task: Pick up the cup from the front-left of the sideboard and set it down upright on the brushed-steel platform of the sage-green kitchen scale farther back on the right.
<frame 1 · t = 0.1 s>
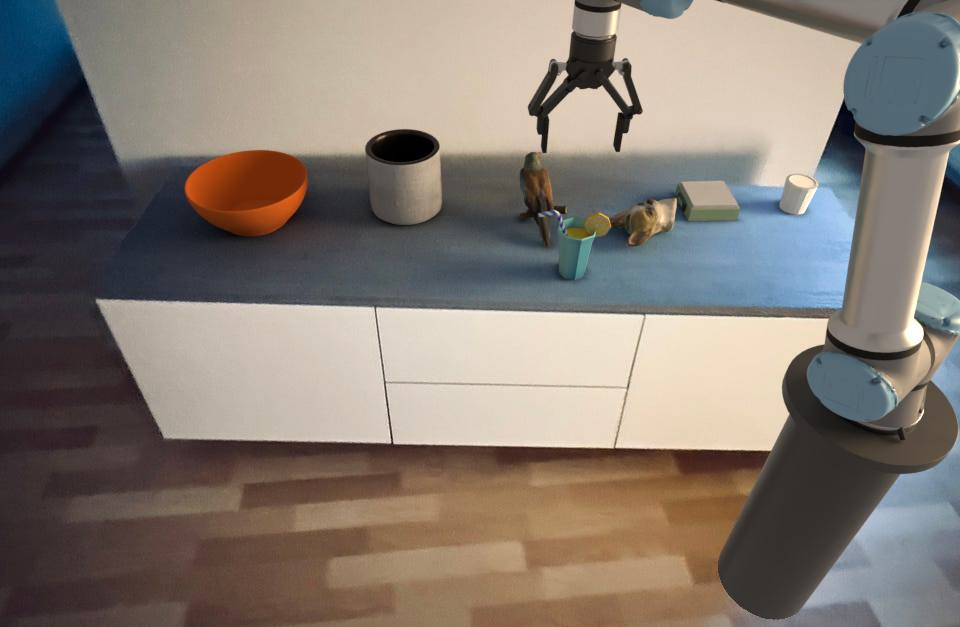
hand: (580, 149, 125), 24 cm above the table, tool pointing down, fingers open, 13 cm apart
bird figurine: (541, 221, 149), on the table
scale: (705, 207, 154), on the table
ceramic sculpture: (641, 234, 146), on the table
bowl: (256, 219, 149), on the table
shot glass: (792, 208, 154), on the table
planter: (407, 208, 153), on the table
cup: (567, 272, 136), on the table
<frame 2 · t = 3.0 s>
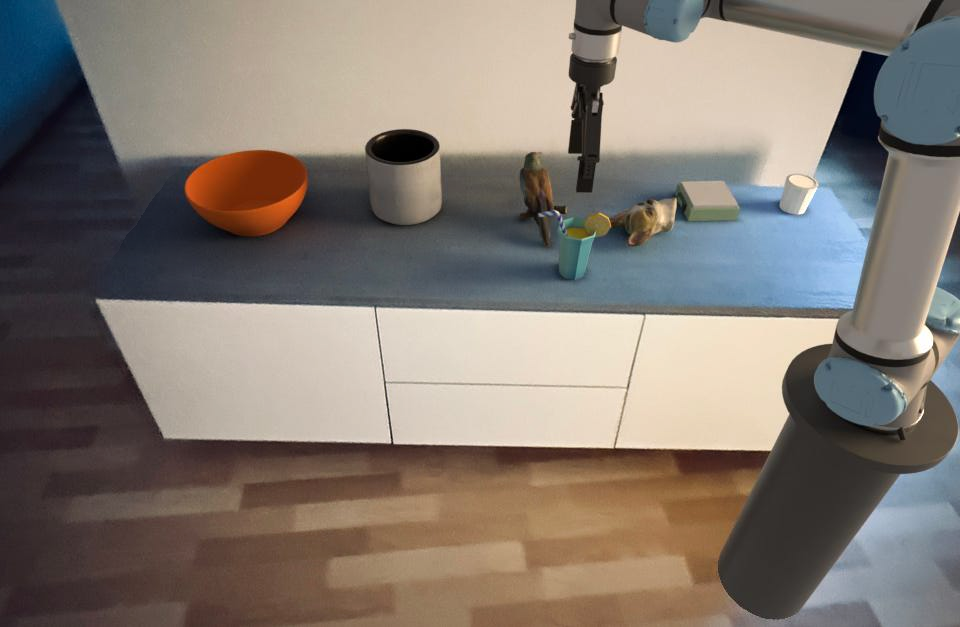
hand: (579, 171, 122), 22 cm above the table, tool pointing down, fingers open, 13 cm apart
nothing on the table moved.
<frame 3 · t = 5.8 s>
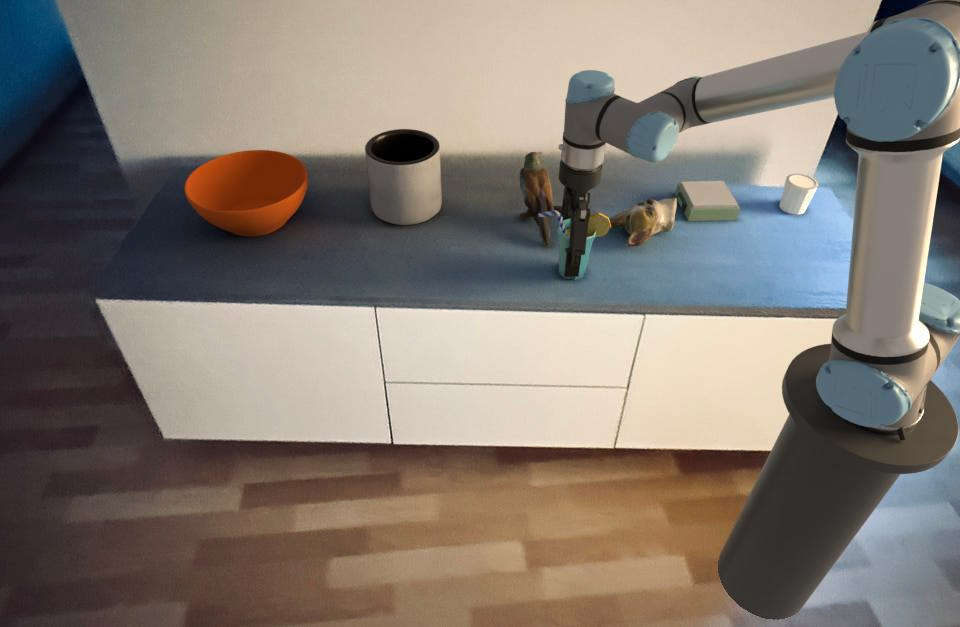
hand: (568, 264, 134), 2 cm above the table, tool pointing down, fingers closed on cup, 6 cm apart
cup: (567, 272, 136), on the table, touching gripper
everything else where it was.
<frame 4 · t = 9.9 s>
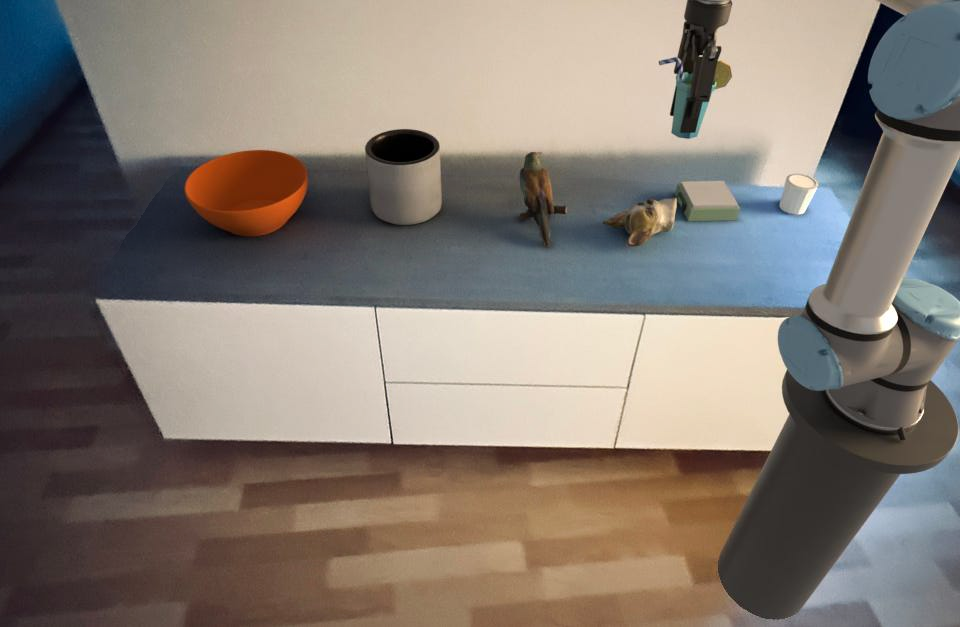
hand: (682, 123, 131), 25 cm above the table, tool pointing down, fingers closed on cup, 6 cm apart
cup: (679, 133, 132), point 23 cm above the table, touching gripper
everything else where it was.
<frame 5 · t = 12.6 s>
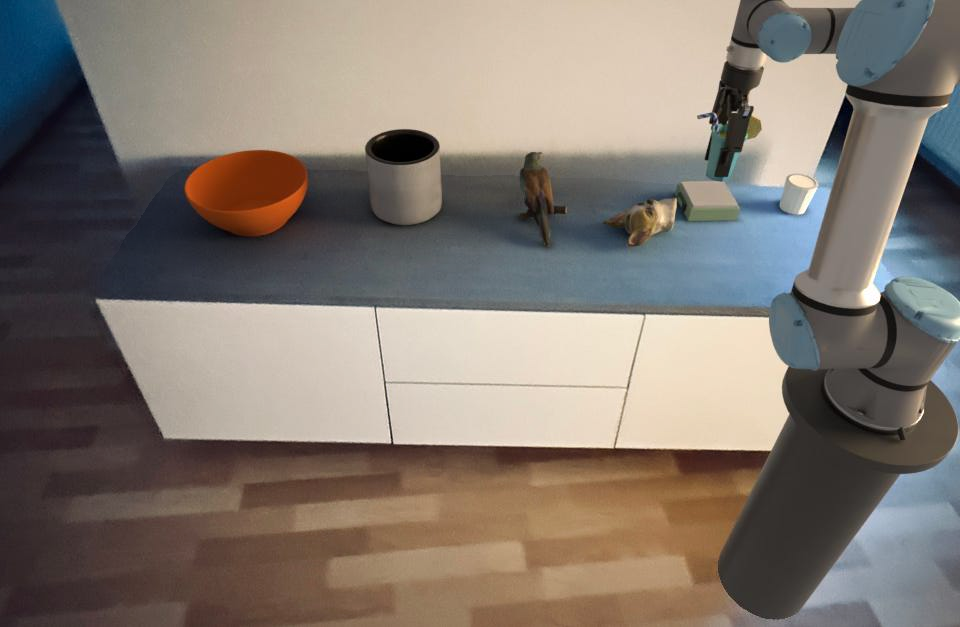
hand: (715, 167, 147), 10 cm above the table, tool pointing down, fingers closed on cup, 6 cm apart
cup: (713, 176, 149), point 8 cm above the table, touching gripper
everything else where it was.
when the fingers open (6 cm above the table, at t = 14.3 s): cup stays where it is, resting on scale.
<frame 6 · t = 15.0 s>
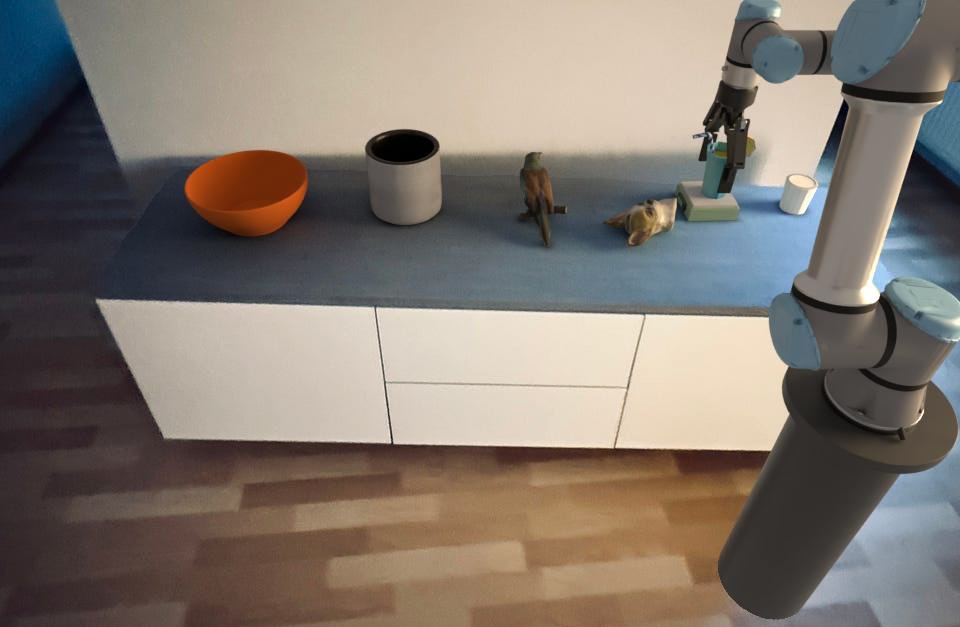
hand: (713, 176, 149), 8 cm above the table, tool pointing down, fingers open, 13 cm apart
cup: (708, 193, 152), point 4 cm above the table, touching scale
everything else where it was.
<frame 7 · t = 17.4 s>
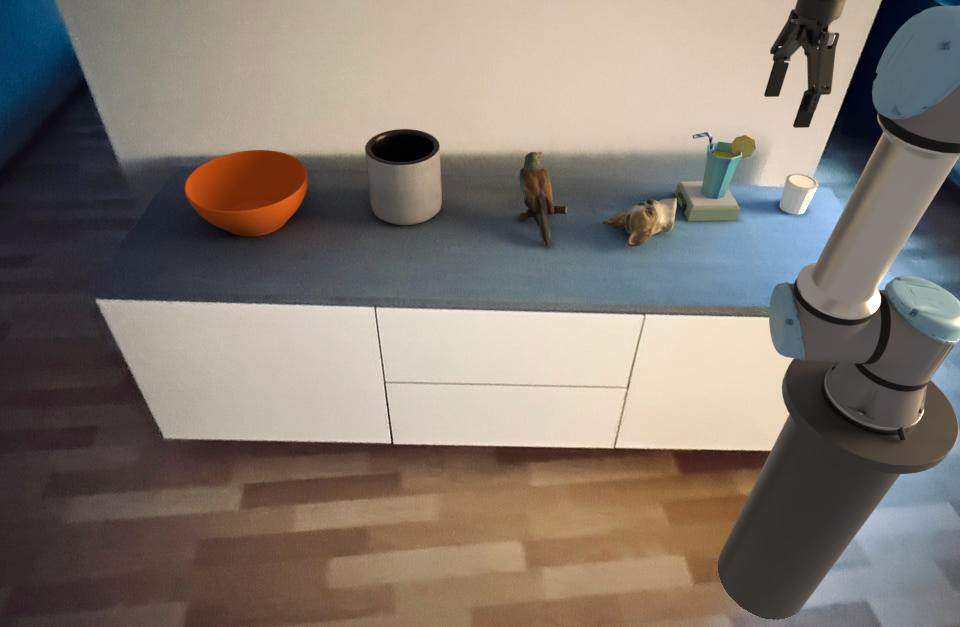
hand: (785, 110, 128), 28 cm above the table, tool pointing down, fingers open, 13 cm apart
nothing on the table moved.
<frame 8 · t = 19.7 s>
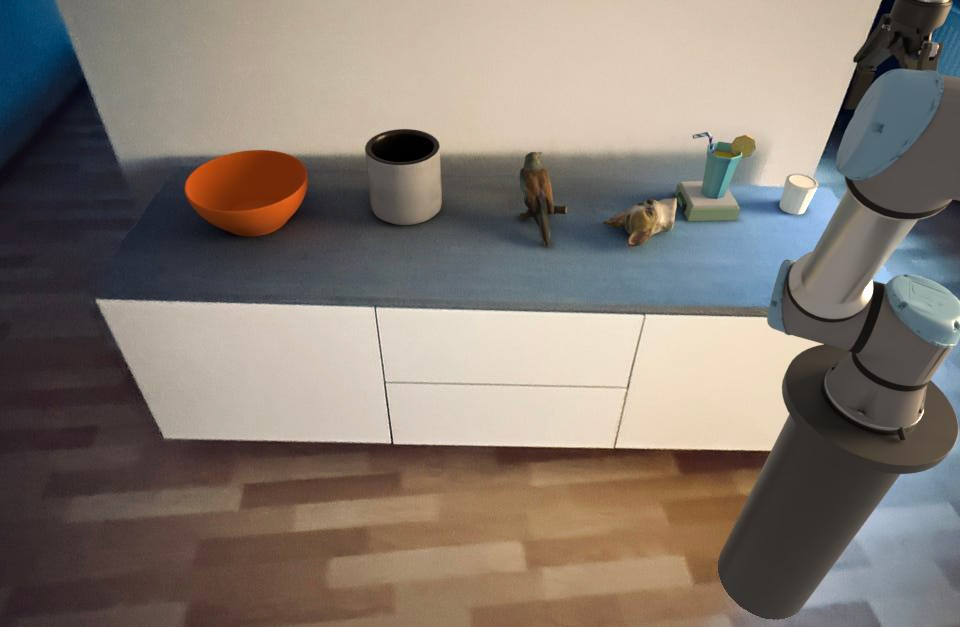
hand: (870, 126, 116), 32 cm above the table, tool pointing down, fingers open, 13 cm apart
nothing on the table moved.
at the end: cup inside the target area on the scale (0.0 cm from its centre), point 3.6 cm above the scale's base; cup tilted 0°; the gripper is holding nothing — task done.
